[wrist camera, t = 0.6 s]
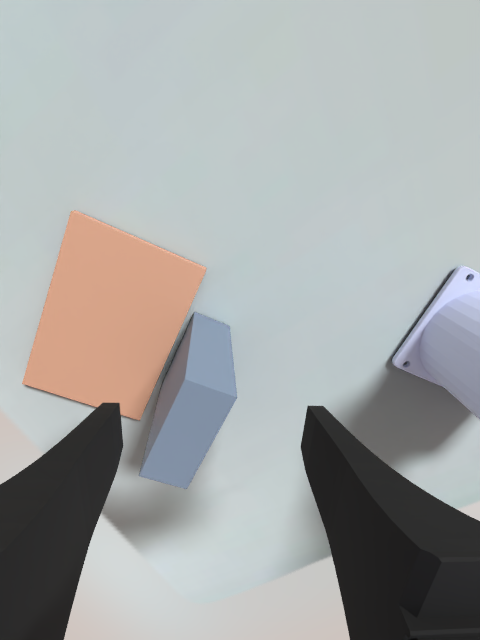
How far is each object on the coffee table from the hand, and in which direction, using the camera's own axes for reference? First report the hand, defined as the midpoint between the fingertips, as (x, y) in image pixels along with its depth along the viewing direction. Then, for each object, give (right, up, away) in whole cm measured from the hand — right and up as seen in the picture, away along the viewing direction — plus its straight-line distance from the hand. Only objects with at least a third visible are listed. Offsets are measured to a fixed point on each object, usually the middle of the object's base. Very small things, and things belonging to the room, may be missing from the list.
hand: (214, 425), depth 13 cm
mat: (-7, +4, +9) cm, 12 cm away
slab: (-2, +2, +10) cm, 11 cm away
